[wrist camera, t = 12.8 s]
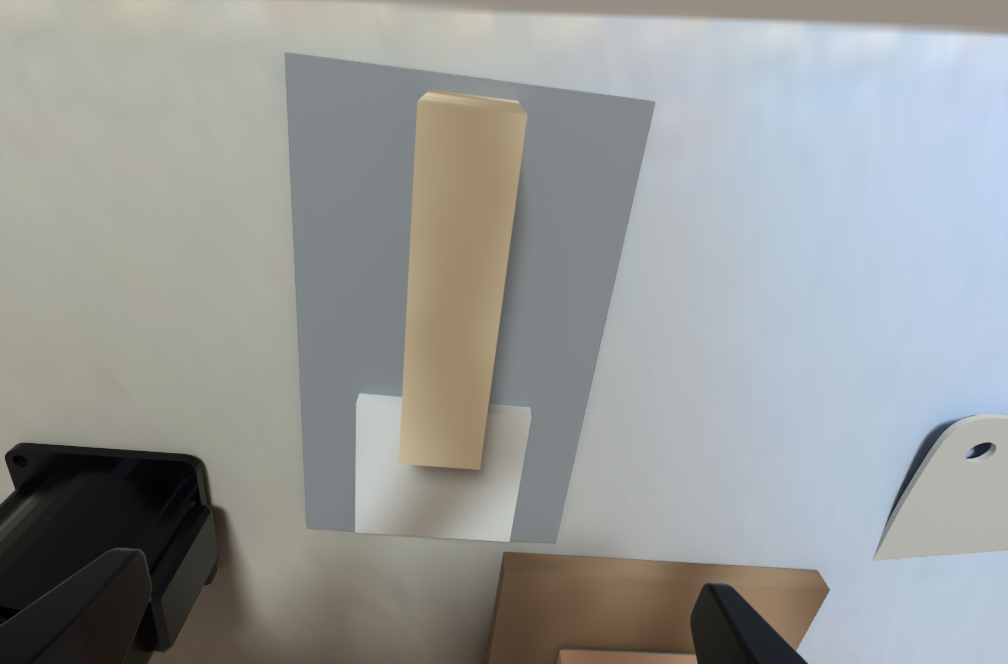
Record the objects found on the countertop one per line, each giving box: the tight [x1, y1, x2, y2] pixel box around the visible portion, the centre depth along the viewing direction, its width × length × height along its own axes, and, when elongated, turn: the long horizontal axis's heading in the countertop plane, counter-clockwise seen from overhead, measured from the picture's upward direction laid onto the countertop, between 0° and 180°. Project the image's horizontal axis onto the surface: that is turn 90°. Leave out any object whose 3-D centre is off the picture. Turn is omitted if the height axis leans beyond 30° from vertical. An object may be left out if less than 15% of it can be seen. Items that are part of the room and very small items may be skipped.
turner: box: [355, 89, 532, 542], centre depth 17 cm, size 6×16×4 cm, turn 173°
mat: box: [285, 53, 655, 543], centre depth 19 cm, size 10×17×1 cm, turn 173°
